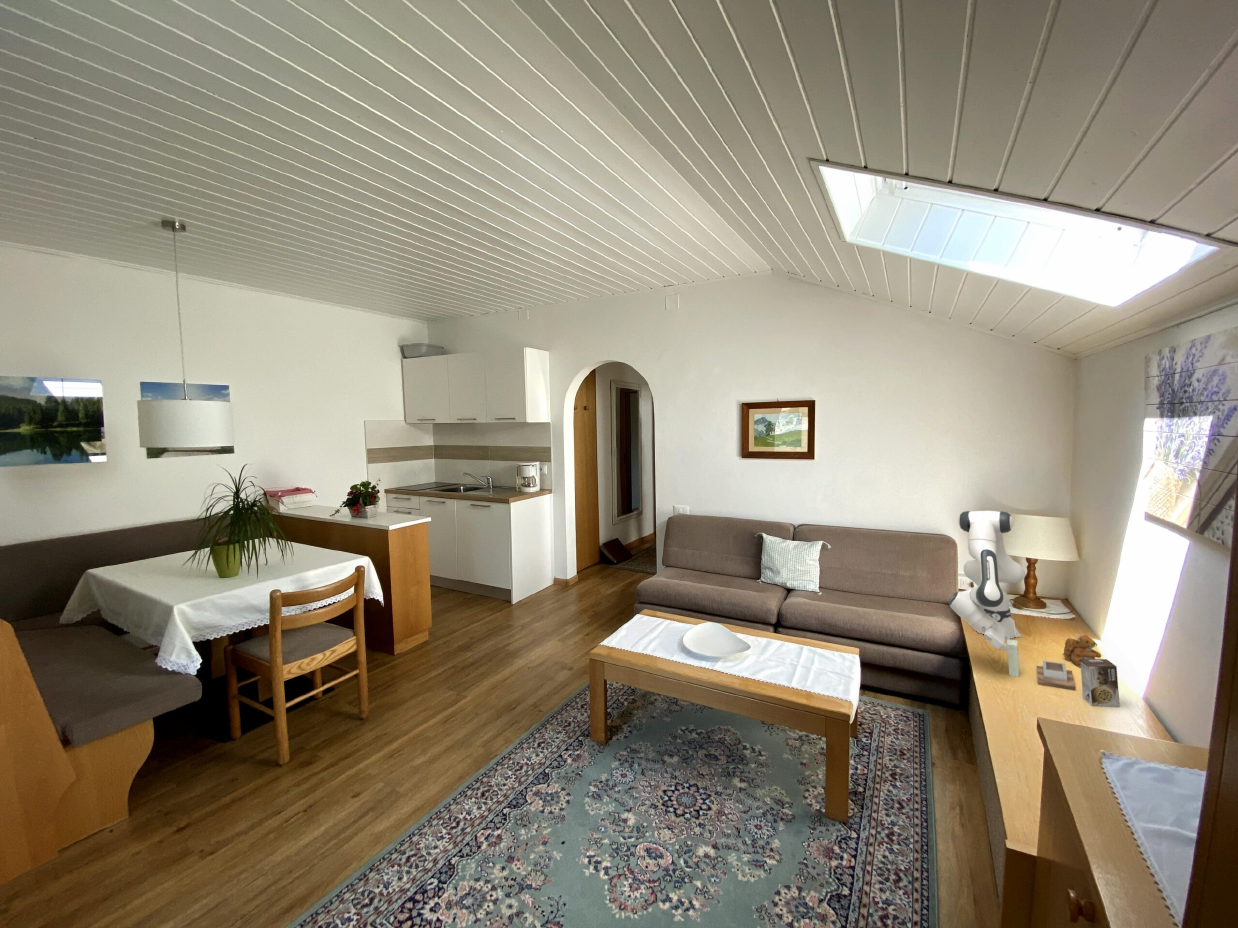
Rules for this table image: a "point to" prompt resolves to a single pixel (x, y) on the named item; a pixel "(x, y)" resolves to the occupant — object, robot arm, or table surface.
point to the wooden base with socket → (1055, 675)
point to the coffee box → (1099, 682)
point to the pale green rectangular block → (1013, 658)
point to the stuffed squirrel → (1080, 649)
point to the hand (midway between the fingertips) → (1011, 648)
